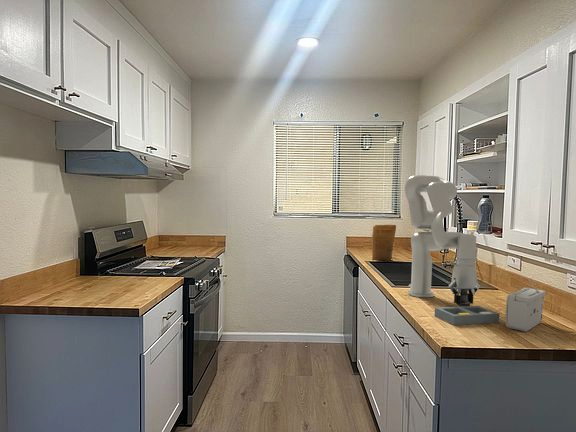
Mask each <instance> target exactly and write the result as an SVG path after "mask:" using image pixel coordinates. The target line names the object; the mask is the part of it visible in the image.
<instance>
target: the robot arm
mask: <svg viewBox="0 0 576 432" xmlns="http://www.w3.org/2000/svg"><path fill="white" fill-rule="evenodd" d="M404 191H405V193H404V194H405V196H406V199H407V200H406V201H407V204H408V209H409V217H410V223H411V225H412V228H414V230H420V231H419V232H414V233H413V235H411V238H410V245H411V246H410V247H411V255H412V256H411V258H412V259H411V279H410V280H411V281H410V284H408V287H409V288H410V289H408V290H407V295H409V296H412V297H416V298H433V297H434V296H435V293H434V292H432V291H431V290H432V289H431V288H432V275H433V274H432V273H433V271H432V269H433V259H432V255H431V254H430V252H433V251H434V252H435V251H441V250H442V251H443V250H444V249H445V250H447V249H449V250H451V249H452V250H455V249H456V259H455V261H456V262H455V264H454V265H453V268H452V274H451V281H450V284H449V285H448V289H449V290H450V291H451V292H452V294H453V296H454V297H453V303H454V304H456V305H457V304H458V305H460V297H461V296H460V292H461V289H468V301H469V302H471V304H470V305H474V296H475V295H476V292H477V291H478V289H480V287H481V285H480V284H479V282H478V271H477V267H476V263H477V262H478V261H477V259H476V254H477V253H476V251H477V236H476V235H474V234H472V233H464V232H460V231H445V226H444V218H446V217H448V216H450V215H452V213H453V211H454V207H453V205H452V202H451V200H453V199H455V198H456V196H457V194H458V190H457V187H456V185H455V184H454V183H453V182H451V181H449V180H447V179H445V178H443V177H440V176H436V175H427V174H426V175H424V174H415V175H412V176H410V177H408V178H407V180H406V182H405V185H404ZM422 193H427V196H428V199H429V202H430V204H431V208H432V210H428V207H427V202H426V198H424V195H422ZM421 230H424V231H421ZM425 230H427V231H425ZM458 305H457V306H458Z"/></svg>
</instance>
